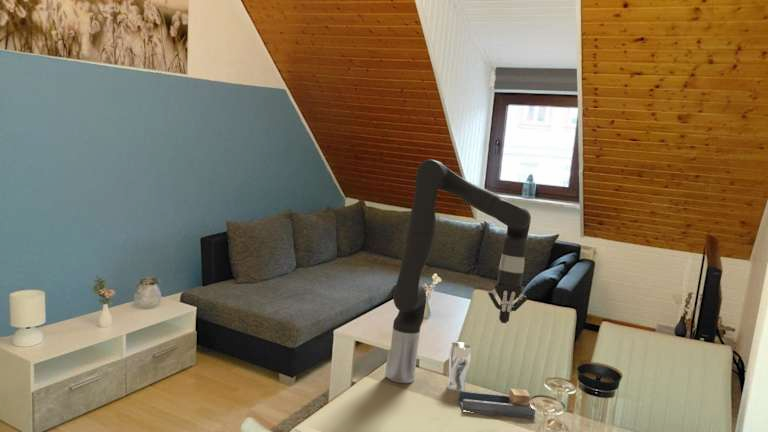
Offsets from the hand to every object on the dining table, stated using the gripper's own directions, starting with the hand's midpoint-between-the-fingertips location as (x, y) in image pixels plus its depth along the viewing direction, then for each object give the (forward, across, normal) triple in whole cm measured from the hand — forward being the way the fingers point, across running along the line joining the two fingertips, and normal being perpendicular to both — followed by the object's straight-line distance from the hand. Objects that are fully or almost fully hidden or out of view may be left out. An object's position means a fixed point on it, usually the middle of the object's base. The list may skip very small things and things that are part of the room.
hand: (503, 322), depth 174 cm
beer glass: (+26, -11, +7) cm, 29 cm away
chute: (+26, 0, -7) cm, 27 cm away
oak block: (+25, +7, -7) cm, 26 cm away
